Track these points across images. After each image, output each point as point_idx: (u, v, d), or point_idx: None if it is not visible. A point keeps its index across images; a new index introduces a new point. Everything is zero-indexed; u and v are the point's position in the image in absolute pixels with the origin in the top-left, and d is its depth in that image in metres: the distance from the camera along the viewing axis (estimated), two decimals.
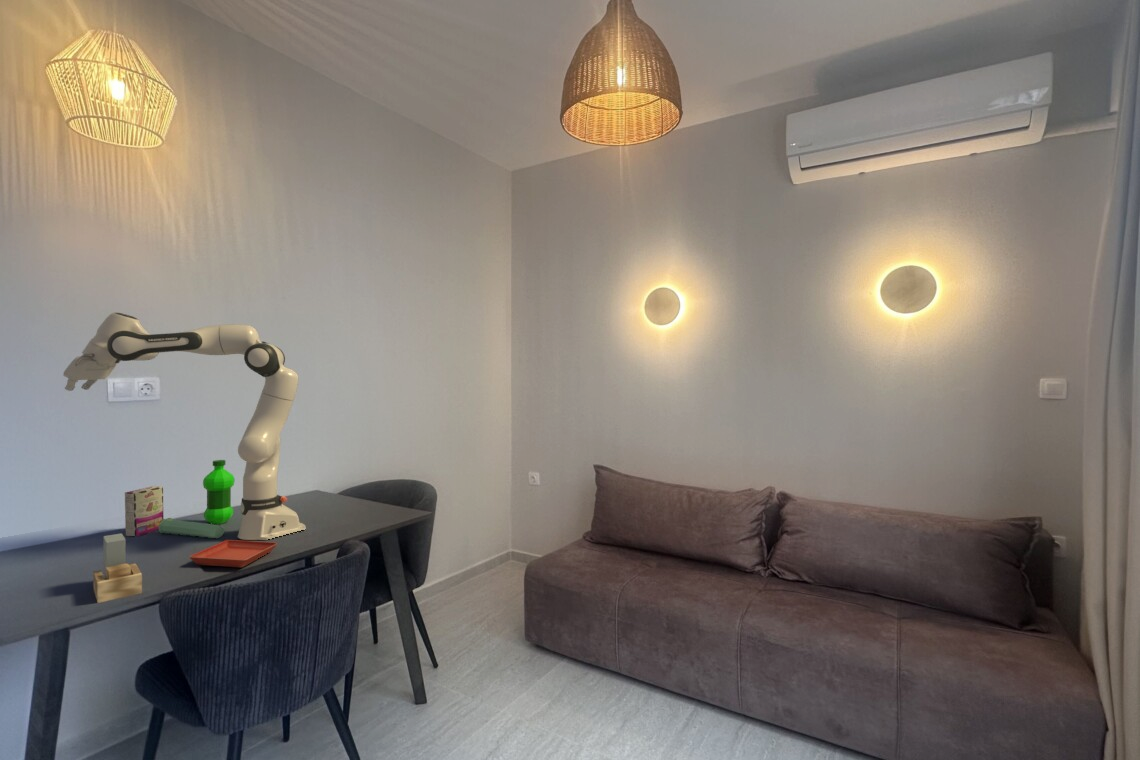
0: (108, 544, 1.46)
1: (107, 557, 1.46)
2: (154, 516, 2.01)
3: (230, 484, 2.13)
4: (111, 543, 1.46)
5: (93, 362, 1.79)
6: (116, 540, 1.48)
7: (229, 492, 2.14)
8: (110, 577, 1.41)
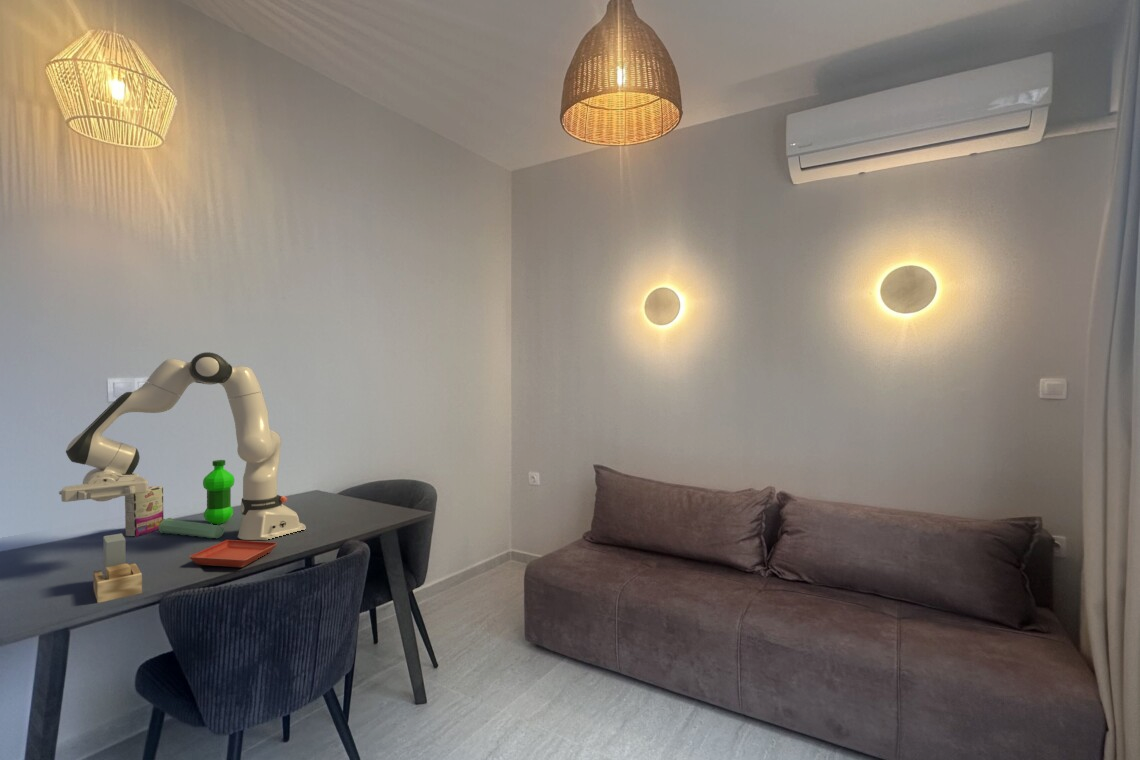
0: (108, 544, 1.46)
1: (107, 557, 1.46)
2: (154, 516, 2.01)
3: (230, 484, 2.13)
4: (111, 543, 1.46)
5: None
6: (116, 540, 1.48)
7: (229, 492, 2.14)
8: (110, 577, 1.41)
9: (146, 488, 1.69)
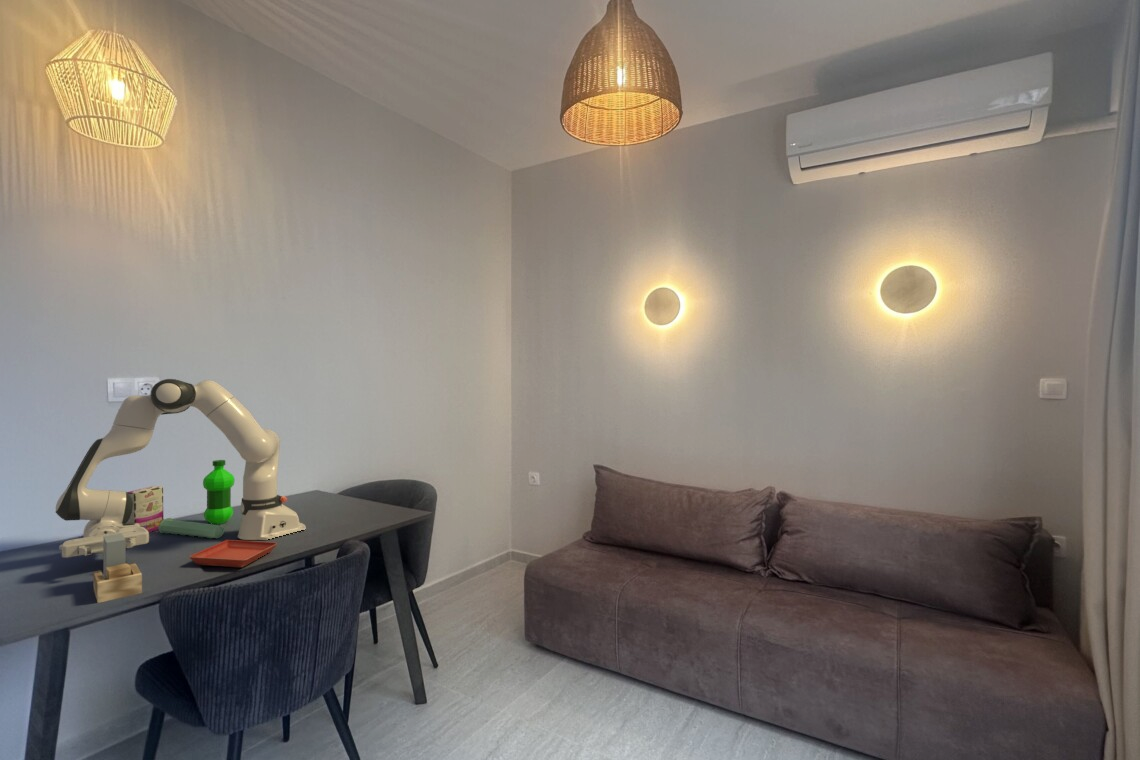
0: (108, 544, 1.46)
1: (107, 557, 1.46)
2: (154, 516, 2.01)
3: (230, 484, 2.13)
4: (111, 543, 1.46)
5: None
6: (116, 540, 1.48)
7: (229, 492, 2.14)
8: (110, 577, 1.41)
9: (147, 539, 1.68)
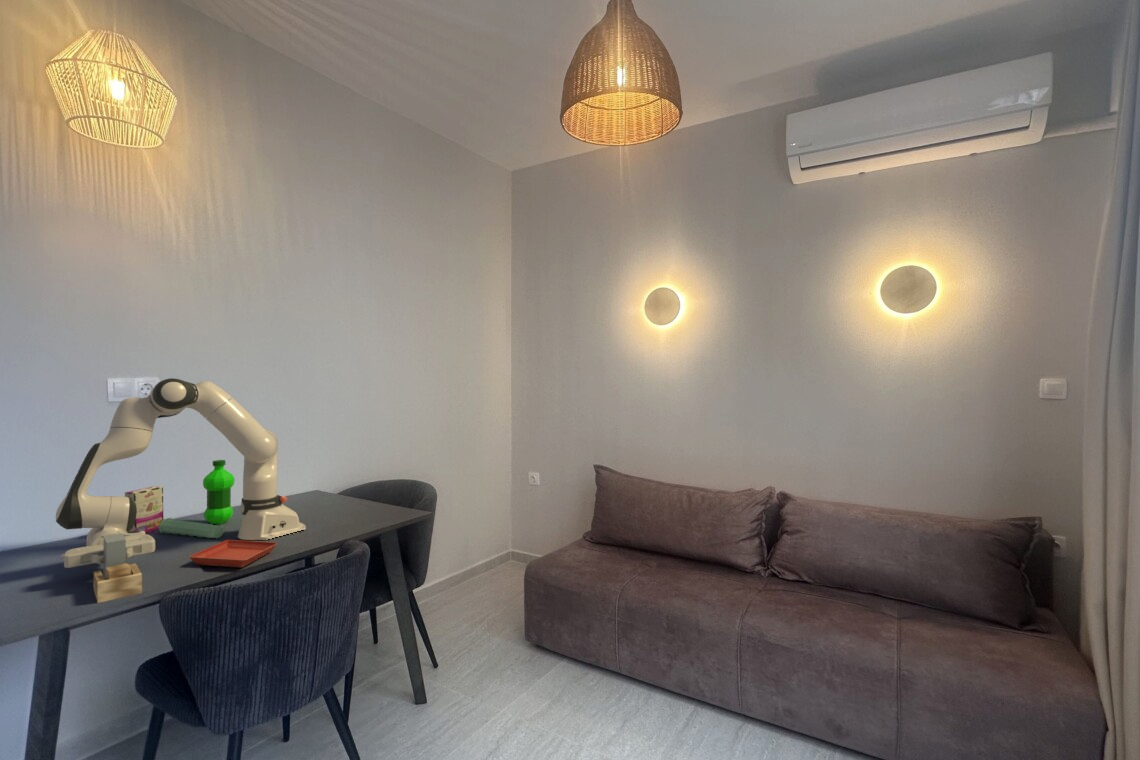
0: (108, 544, 1.46)
1: (107, 557, 1.46)
2: (154, 516, 2.01)
3: (230, 484, 2.13)
4: (111, 543, 1.46)
5: (86, 546, 1.55)
6: (116, 540, 1.48)
7: (229, 492, 2.14)
8: (110, 577, 1.41)
9: (153, 548, 1.61)
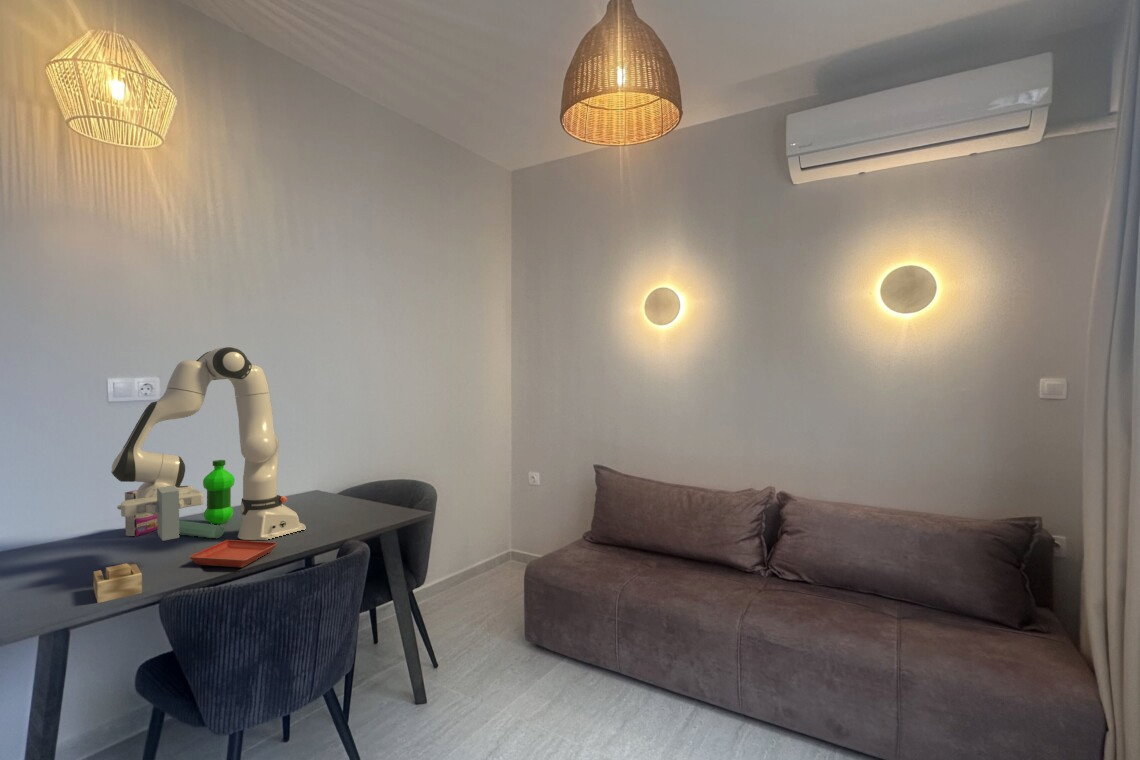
0: (163, 494, 1.53)
1: (162, 506, 1.53)
2: (154, 516, 2.01)
3: (230, 484, 2.13)
4: (166, 493, 1.54)
5: (139, 498, 1.62)
6: (170, 491, 1.55)
7: (229, 492, 2.14)
8: (110, 577, 1.41)
9: (202, 500, 1.68)
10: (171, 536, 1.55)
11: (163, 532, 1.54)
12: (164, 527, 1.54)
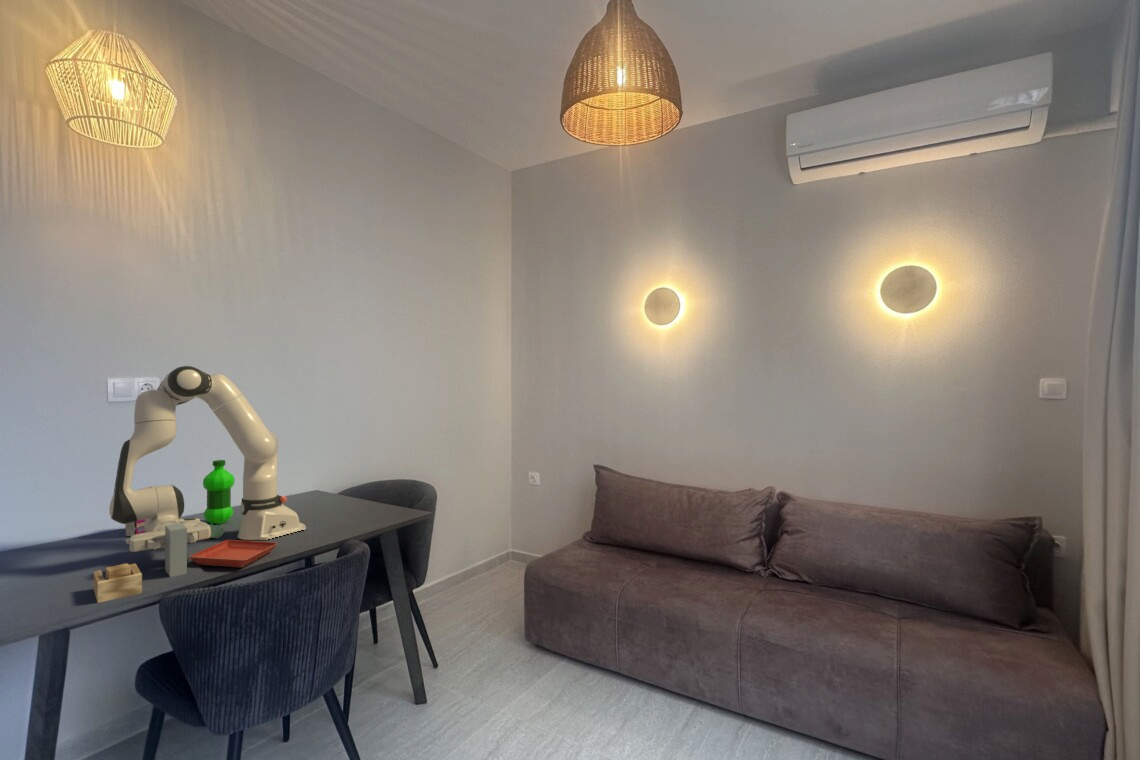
0: (171, 532, 1.55)
1: (171, 544, 1.55)
2: None
3: (230, 484, 2.13)
4: (174, 531, 1.56)
5: (147, 532, 1.64)
6: (178, 528, 1.57)
7: (229, 492, 2.14)
8: (110, 577, 1.41)
9: (209, 534, 1.70)
10: (179, 573, 1.57)
11: (171, 570, 1.55)
12: (172, 565, 1.56)
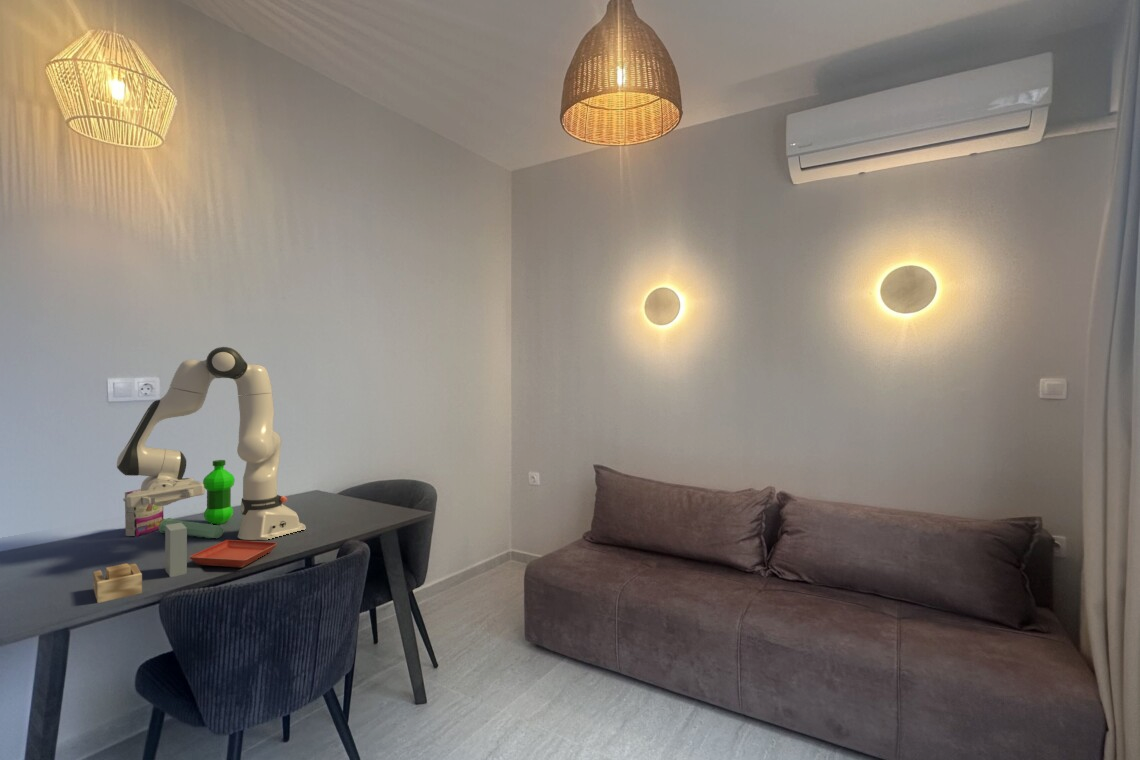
0: (171, 532, 1.55)
1: (171, 544, 1.55)
2: (154, 516, 2.01)
3: (230, 484, 2.13)
4: (174, 531, 1.56)
5: (143, 490, 1.72)
6: (178, 528, 1.57)
7: (229, 492, 2.14)
8: (110, 577, 1.41)
9: (203, 491, 1.78)
10: (179, 573, 1.57)
11: (171, 570, 1.55)
12: (172, 565, 1.56)
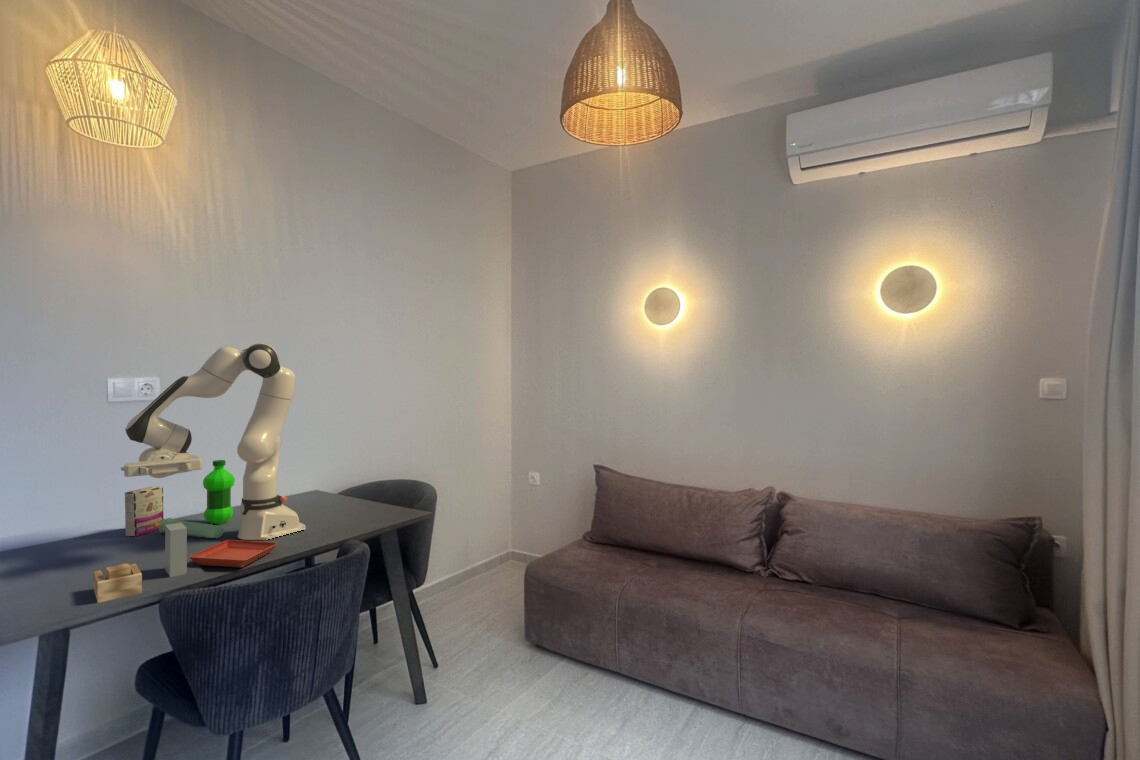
0: (171, 532, 1.55)
1: (171, 544, 1.55)
2: (154, 516, 2.01)
3: (230, 484, 2.13)
4: (174, 531, 1.56)
5: (141, 461, 1.72)
6: (178, 528, 1.57)
7: (229, 492, 2.14)
8: (110, 577, 1.41)
9: (200, 465, 1.78)
10: (179, 573, 1.57)
11: (171, 570, 1.55)
12: (172, 565, 1.56)
